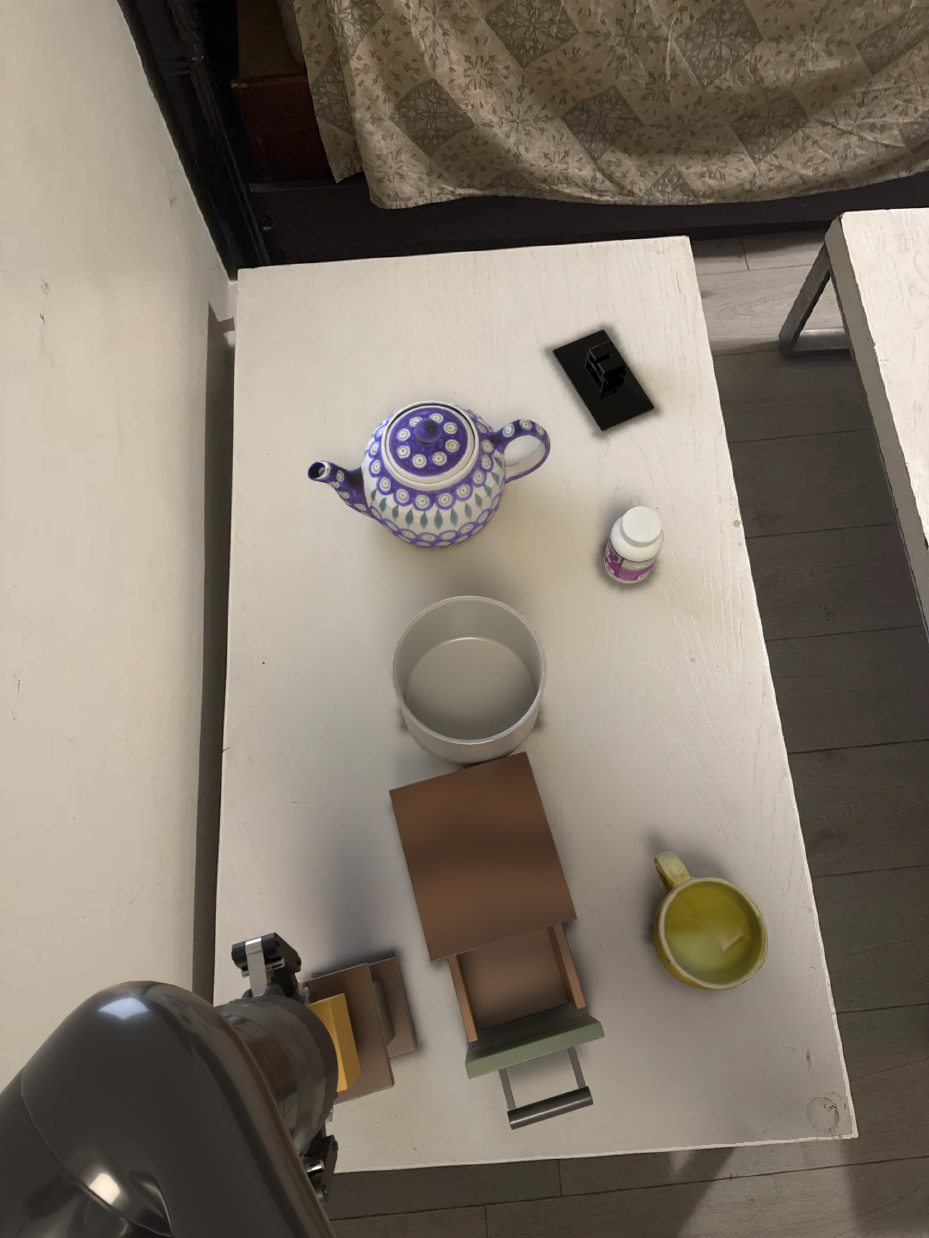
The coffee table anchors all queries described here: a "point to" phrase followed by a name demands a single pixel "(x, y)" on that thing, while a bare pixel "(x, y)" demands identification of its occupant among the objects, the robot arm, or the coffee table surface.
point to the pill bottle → (634, 545)
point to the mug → (707, 929)
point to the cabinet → (480, 856)
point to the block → (340, 1037)
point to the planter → (469, 679)
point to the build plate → (603, 380)
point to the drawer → (524, 1012)
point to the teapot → (433, 472)
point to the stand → (371, 1021)
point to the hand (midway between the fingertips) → (311, 1046)
